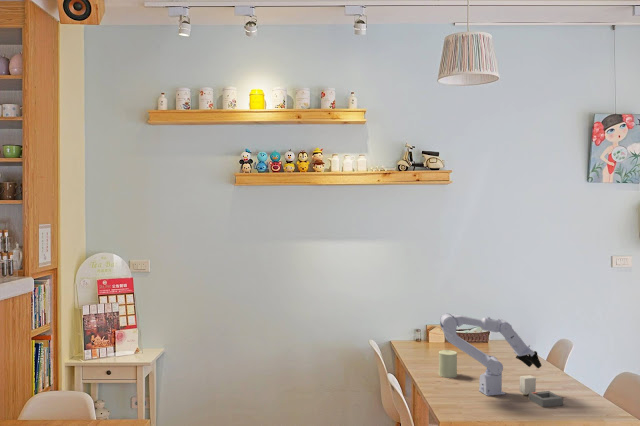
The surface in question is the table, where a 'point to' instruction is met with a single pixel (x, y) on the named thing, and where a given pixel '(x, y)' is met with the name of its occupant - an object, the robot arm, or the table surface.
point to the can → (447, 363)
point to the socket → (545, 398)
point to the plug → (527, 384)
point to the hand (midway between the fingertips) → (535, 366)
